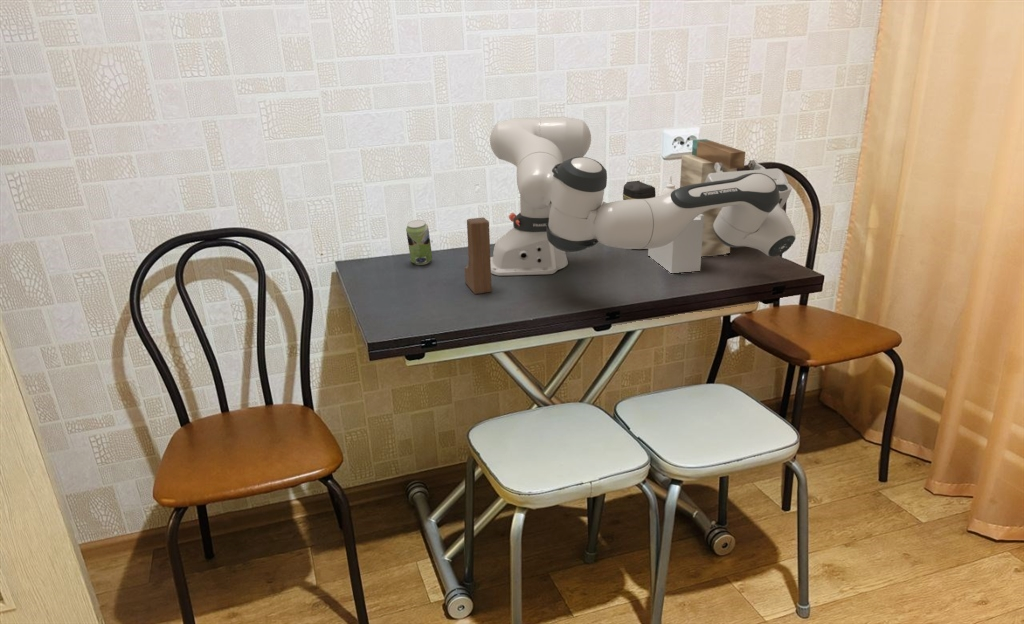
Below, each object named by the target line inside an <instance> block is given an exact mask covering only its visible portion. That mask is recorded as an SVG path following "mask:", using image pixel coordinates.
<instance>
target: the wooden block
mask: <svg viewBox="0 0 1024 624" xmlns="http://www.w3.org/2000/svg"><path fill="white" fill-rule="evenodd" d="M466 229H467V230H466V231H467V235H466V236H467V254H468V265H467V266H465V267H464V278H465V279H464V281H465V284H466V286H467V287H468V288H469V289H470V290H471V291H472V293H473V294H475V295H477V294H485V293H486V292H487V293H491V292H492V273H491V261H490V257H491V240H490V239H491V238H490V222H489V220H487V219H486V218H485V217H475V218H468V219H466Z"/></svg>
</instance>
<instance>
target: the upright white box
mask: <svg viewBox="0 0 1024 624" xmlns="http://www.w3.org/2000/svg"><path fill="white" fill-rule="evenodd" d="M703 224H704V215H702V214H700V215H698V216H697V217H696V218H695V219H694V220H692V221H691V222H690V223H689V224H688V225H687V226H686V227H685V229H684V230H683V231H682V232H681V233H680V234H679V235H678V236H677V237H676V238H675V239H674V240H673V241H672V242H671V243H669V244H667V245H665V246H662V247H658V248H653V249H647V250H648V251H647V257H648V256H650V257H651V258H652V259H654V260H655V261H656V262H657V263H659V264H660V265H661V266H663V267H664V268H665V269H666V270H668V271H669V272H670V273H679V272H691V271H700V272H701V264H702V258H701V252H702V238H703ZM651 258H650V259H651ZM652 259H651V260H652ZM656 262H655V263H656ZM657 263H656V264H657ZM660 265H659V266H660ZM661 266H660V267H661ZM664 268H663V269H664ZM665 269H664V270H665ZM666 270H665V271H666ZM669 272H668V273H669ZM670 273H669V274H670Z"/></svg>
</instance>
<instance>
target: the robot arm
mask: <svg viewBox="0 0 1024 624" xmlns="http://www.w3.org/2000/svg"><path fill="white" fill-rule="evenodd" d="M489 143H490V147H491V150H492V152H493V154H494V155H495V157H496V158H497V159H498V160H502V161H505V162H508V163H510V164H511V165H513V166H515V167H516V185H517V188H518V189H517V190H518V192H519V199H520V201H519V205H520V207H519V209H520V210H519V211H520V212H519V213H517V215H516V213H514V212H511V213H509V215H508V220H510V221H511V222H512V224H513V227H512V228H511V229H510V230H509V231H507V232H506V233H505V234H504V235H503V236H500V238H499V239H497V240H496V242H495V244H494V247H493V253H492V256H490V261H491V275H492V274H493V275H495V276H526V275H527V276H531V275H532V276H534V275H552V274H555V273H556V272H558V270H561V269H564V268H565V267H567V266H568V264H569V262H568V258H567V255H566V252H567V253H575V252H580V251H583V250H586V249H588V248H591V247H595V246H596V245H597V244H598V243H600V244H601V245H603V246H606V247H612V248H617V249H626V250H628V249H629V250H648V249H653V248H658V247H662V246H665V245H667V244H669V243H671V242H672V241H673V240H674V239H675V238H676V237H677V236H678V235H679V234H680V233H681V232H682V231H683V230H684V229H685V227H686V226H687V225H688V224H689V223H690V222H691V221H692V220H694V219H695V218H696V217H697V216H698V215H700V214H701V213H703V212H705V211H707V210H709V209H714V208H721V207H723V208H722V209H721V211H720V212H719V214H718V216H717V217H716V219H715V221H714V223H713V230H714V232H715V234H716V236H717V237H718V239H719V240H720V241H721V242H722V243H723V244H725V245H726V246H729V247H730V248H746V247H748V248H751V249H755V250H758V251H759V252H762V253H763V254H764V255H766V256H768V257H778V256H781V255H783V254H784V253H785V252H787V251H788V250H790V248H791V247H792V246H793V244H794V242H795V241H796V230H795V228H794V226H793V223H792V221H791V219H790V218H789V216H788V214H787V212H786V211H785V209H783V207H784V206H785V204H786V202H787V201H788V199H789V197H790V194H791V192H792V189H793V188H792V187H791V185H790V184H789V181H788V178H787V176H786V175H785V173H784V171H783V170H782V169H780V168H766V167H764V166H763V165H761V164H760V163H758V162H757V160H756V159H751V160H749V161H748V164H747V166H748V168H749V170H737V171H733V172H723V171H722V169H723V167H724V166H723V164H722V163H721V162H719V163H715V166H714V169H715V170H716V173H709V174H708V176H707V178H706V180H705V183H699V184H693V185H687V186H683V187H680V186H679V187H677V188H675V189H676V190H674V191H672V192H670V193H667V194H664V195H661V194H660V195H661V196H660V195H657V196H655V197H654V198H648V199H630V200H623V199H621V200H615V201H611V202H605V201H603V200H604V195H605V193H604V192H605V189H606V188H607V183H608V173H607V169H606V168H605V167H604V165H603V164H602V163H601V162H599V161H597V160H596V159H593V158H590V157H587V156H585V155H586V154H587V153H588V151H589V149H590V147H591V144H592V134H591V130H590V128H589V125H587V123H586V122H585V121H584V120H583V119H579V118H573V117H568V116H557V117H556V116H555V117H553V116H552V117H551V116H550V117H549V116H547V117H546V116H545V117H514V118H510V119H509V118H508V119H505V120H504V119H503V120H501V121H498V122H497V123H495V125H494V126H493V128H492V130H491V132H490V136H489Z"/></svg>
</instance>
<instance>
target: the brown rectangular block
mask: <svg viewBox="0 0 1024 624" xmlns="http://www.w3.org/2000/svg"><path fill="white" fill-rule="evenodd" d="M691 149H692V150H691V155H695V156H697V157H700V158H702V159H705V160H708V161H710V162H713V163H719V162H721V163H722V164H723V166H724V167H726V168H728V169H735V168H737V169H744V168H745V162H746V151H743V150H741V149H737V148H735V147H732V146H728V145H725V144H723V143H720V142H718V141H717V142H716V141H714V140H710V139H707V138H703V139H701V138H700V139H692V148H691Z"/></svg>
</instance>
